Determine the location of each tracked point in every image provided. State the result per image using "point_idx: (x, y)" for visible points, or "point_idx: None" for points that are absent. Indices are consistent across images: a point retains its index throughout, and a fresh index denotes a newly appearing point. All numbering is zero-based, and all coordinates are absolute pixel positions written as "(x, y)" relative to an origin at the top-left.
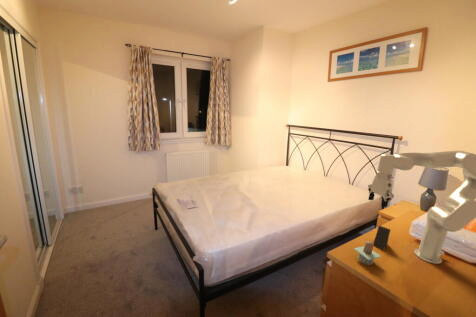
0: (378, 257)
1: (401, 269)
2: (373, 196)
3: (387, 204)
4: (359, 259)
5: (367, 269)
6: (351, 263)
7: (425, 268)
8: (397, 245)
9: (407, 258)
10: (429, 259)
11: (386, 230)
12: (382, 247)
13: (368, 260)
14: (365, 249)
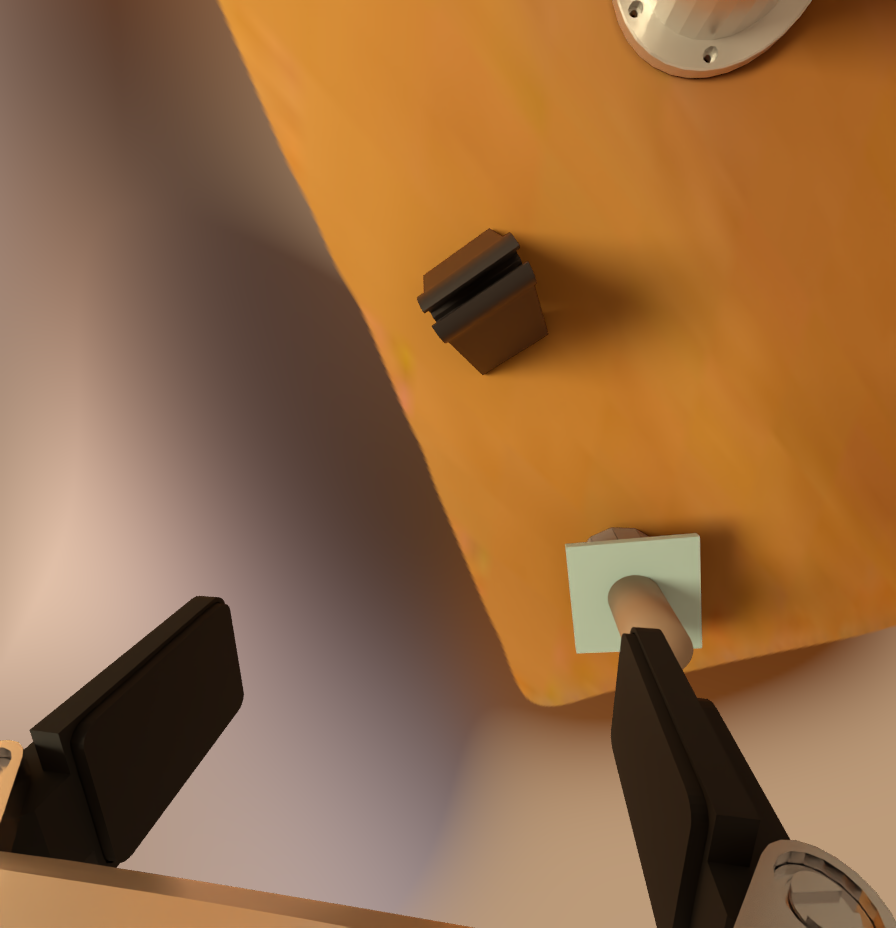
0: (698, 561)
1: (759, 397)
2: (155, 691)
3: (733, 742)
4: None
5: None
6: None
7: (817, 171)
8: (512, 130)
9: (678, 216)
10: (775, 5)
11: (511, 295)
12: (536, 337)
13: None
14: None
